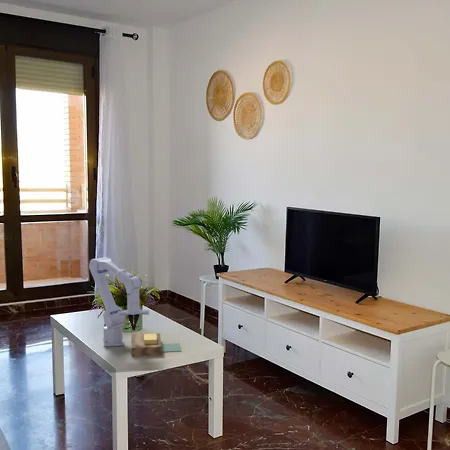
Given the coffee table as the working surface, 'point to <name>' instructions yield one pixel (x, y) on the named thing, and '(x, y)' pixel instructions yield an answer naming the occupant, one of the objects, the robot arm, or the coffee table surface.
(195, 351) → the coffee table surface
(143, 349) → the deck
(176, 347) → the mat
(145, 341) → the yellow rectangular block
